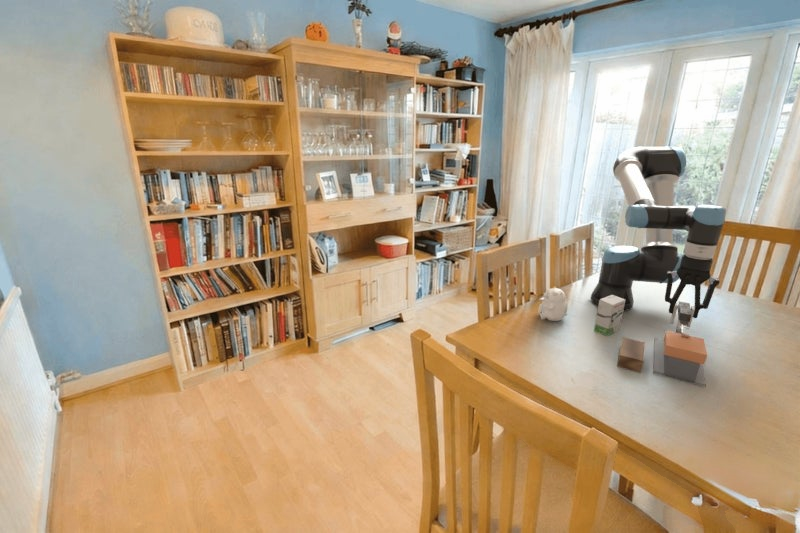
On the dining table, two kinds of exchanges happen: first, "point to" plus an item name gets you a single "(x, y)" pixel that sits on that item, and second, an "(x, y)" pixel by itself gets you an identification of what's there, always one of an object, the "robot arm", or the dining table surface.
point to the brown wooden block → (631, 354)
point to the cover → (685, 347)
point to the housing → (677, 366)
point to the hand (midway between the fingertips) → (679, 323)
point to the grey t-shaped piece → (683, 319)
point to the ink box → (609, 315)
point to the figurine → (553, 305)
